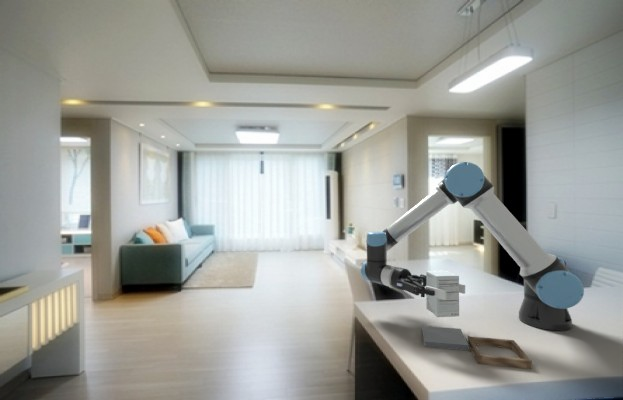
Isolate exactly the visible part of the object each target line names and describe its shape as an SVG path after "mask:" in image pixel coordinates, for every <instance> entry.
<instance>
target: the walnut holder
mask: <svg viewBox="0 0 623 400" xmlns="http://www.w3.org/2000/svg"><path fill="white" fill-rule="evenodd" d="M467 343H468V345H469V349H470V350H471V352H472V354H473V356H474V358H475V360H476V362H477V364H480V365H489V366H499V367H509V368H516V369H517V368H519V369H529V370H531V369H532V360H531V359H530V358H529V356H528V355H527V354H526V353H525V352H524V350H523V349H522V348H521V347H520V346H519V344H518V343H517V342H516V341H515V340H514V339H504V338H492V337H481V336H467ZM478 346H483V347H495V348H497V347H498V348H508V349H512V351H513V352H514V354H515V355H516V356H517V357H509V356H500V355H499V356H497V355H491V354H490V355H489V354H481V352H480V350H479V348H478Z"/></svg>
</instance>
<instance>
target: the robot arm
mask: <svg viewBox="0 0 623 400" xmlns="http://www.w3.org/2000/svg"><path fill="white" fill-rule="evenodd" d="M435 186H436V187H435V189H434V190H433V191H432V192H431V193H429V194H428V195H427V196H426V197H424V198H423V199H422V200H420V201H419V202H418V203H417V204H415V205H414V206H413V207H411V208H410V209H409V210H408V211H407V212H406V213H404V214H403V215H401V216H400V217H399V218H398V219H396V220H395V221H394V222H393V223H392V224H390V225H389V226H388V227H386V228H385V229H384V230H383V231H369V232H367V234H366V240H365V242H366V261H364V262H363V263H362V265H361V268H360V273H361V276H362V278H363V279H364V280H367V281H369V282H370V283H376V284H379V285H383V286H386V287H389V288H390V289H392V288H394V289H396V290H399V291H400V290H401V291H406V292H408V293H410V294H412V295H415V296H420V297H421V298H426V295H428V296H431V297H435V298H438V299H442V300H446V290H442V289H438V288H434V287H430V286H426V275H425V274H422V273H421V274H420V275H417V274H412V273H411V271H410V270H409V269H408V268H404V267H403V268H402V267H398V266H396V265H395V266H394V265H389V264H388V263H387V257H388V256H387V253H388V251H390V250H391V249H392V248H394V247H395V246H396V245H397V244H399V242H401V241H402V240H403V239H406V237H407V236H409V235H410V234H412V233H413V232H414V231H416V230H417V229H418V228H420V227H421V226H422V225H423V224H425V223H427V221H429V220H430V219H431V218H432V217H434V216H436V215H437V214H439V212H441V211H442V210H444V209H445V208H446V207H447V206H448V205H449V206H450V205H455V204H456V203H457V202H458V203H459V204H460V206H461V207H463V208H464V209H470V210H471V212H473V214H474V215H475V216H476V217H477V218H478V219H479V220H480V222H481V223H482V224H483V225H484V226H485V228H486V229H488V231H489V233H490V234H492V236H493V237H494V238H495V239H496V240H497V242H498V243H499V244H500V245H501V246H502V248H503V249H504V250H505V251H506V252H507V253H508V255H509V256H510V257H511V258H512V259H513V261H515V263H516V264H517V266H519V267H520V271H519V275H520V276H521V277H522V278H523V295H524V296H523V299H522V302H521V305H520V307H519V311H518V320H520V321H521V322H522V323H524V324H527V325H528V326H530V327H531V326H532V327H535V328H538V329H543V330H549V331H559V332H561V331H562V332H563V331H569V330H571V329H573V319H572V317H571V314H570V312H569V308H573V307H575V306H576V305H578V304H579V303H580V302H581V301H582V300H583V298H584V295H585V294H584V293H585V288H584V285H583V283H582V281H581V279H580V278H579V277H578V276H577V275H576V274H574V273H572V272H571V271H570V270H569V268H568V267H566V263H565V259H563V258H562V257H558V256H556V254H552V253H548V252H546V251H545V250H544V249H543V247H541V245H540V244H539V243H538V242H537V241H536V240H535V238H533V236H532V235H531V234H530V233H529V231H528V230H526V228H525V227H524V226H523V225H522V224H521V223H520V222H519V221H518V219H517V218H516V217H515V216H514V215H513V214H512V212H510V211H509V209H508V208H507V207H506V206H505V205H504V203H503V202H502V201H501V200H500V199H499V198H498V197H497V195H496V194H495V193H494V191H495V186H494V184H493V183H492V182H490V180H489V179H488V178H487V177H486V176H485V173H484V171H483V170H482V169H481V167H479V166H478V164H475V163H473V162H470V161H461V162H457V163H454V164H453V165H451V166H450V167H449V168H448V169H447V171H446V172H445V174H444V178H443V180H441V181H440V182H439V183H437V184H436V185H435ZM459 294H463V295H465V294H466V284H465V283H460V282H459Z"/></svg>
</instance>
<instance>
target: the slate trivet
mask: <svg viewBox="0 0 623 400" xmlns="http://www.w3.org/2000/svg"><path fill="white" fill-rule="evenodd" d="M421 331H422V337H423V342H424V347H427V348H438V349H448V350H449V349H450V350H460V351H461V350H462V351H470V346H469V344H468V340H467V339H466V337H465V334H464V332H463V331H462V329H461V328H454V327H442V326H429V325H421Z"/></svg>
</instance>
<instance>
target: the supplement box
mask: <svg viewBox="0 0 623 400" xmlns="http://www.w3.org/2000/svg"><path fill="white" fill-rule="evenodd" d="M425 273H426V286H430V287H434V288H438V289H442V290H446V300H442V299H438V298H435V297H431V296H428V295H426V294H425V298H426V310H427V311H429V312H430V313H432V314H433V315H434V316H436V318H450V317H460V293H459V283H460V275H457V274H456V273H453V272H451V271H449V270H447V269H445V270H442V269H441V270H440V269H439V270H426V272H425ZM426 286H425V287H426Z"/></svg>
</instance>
